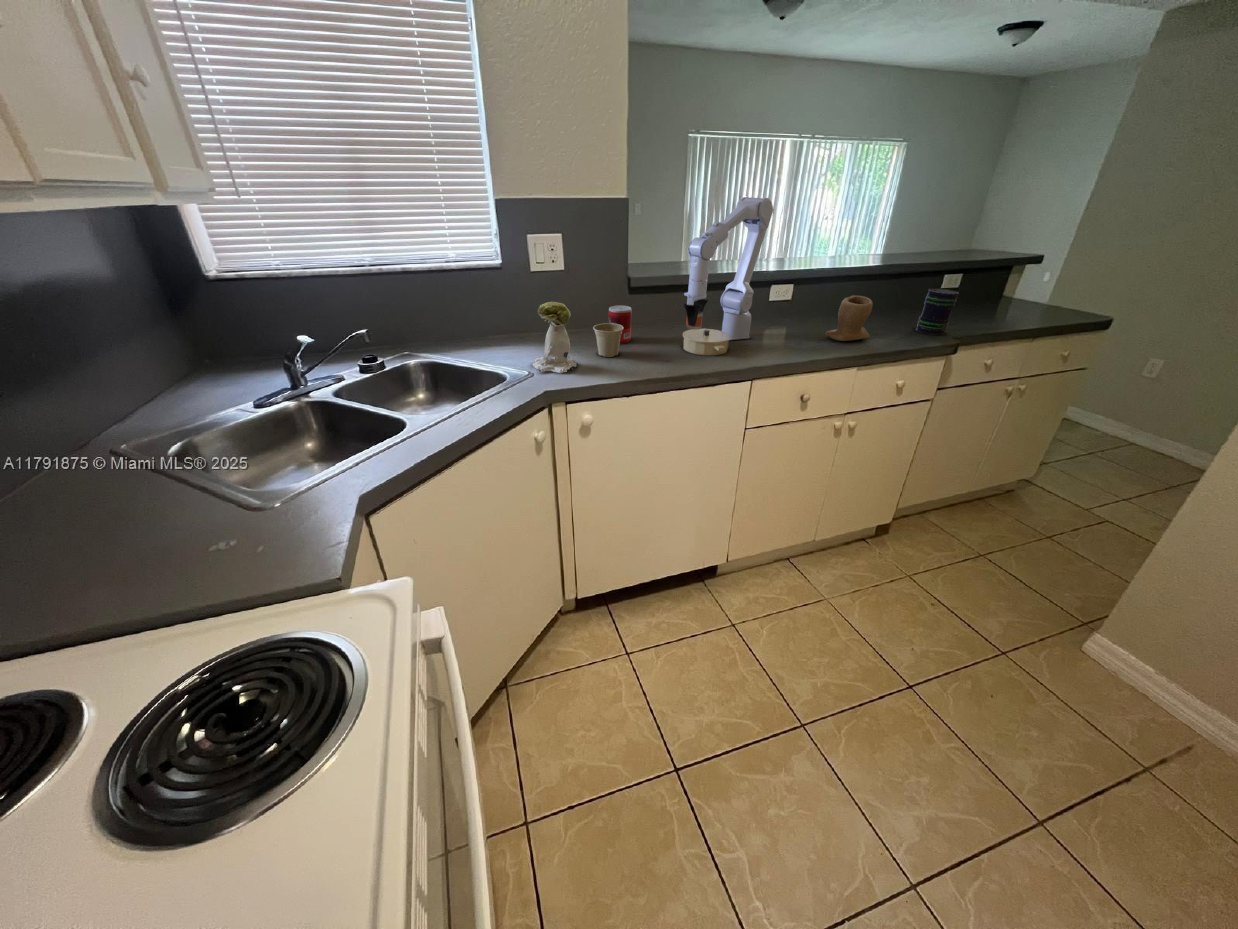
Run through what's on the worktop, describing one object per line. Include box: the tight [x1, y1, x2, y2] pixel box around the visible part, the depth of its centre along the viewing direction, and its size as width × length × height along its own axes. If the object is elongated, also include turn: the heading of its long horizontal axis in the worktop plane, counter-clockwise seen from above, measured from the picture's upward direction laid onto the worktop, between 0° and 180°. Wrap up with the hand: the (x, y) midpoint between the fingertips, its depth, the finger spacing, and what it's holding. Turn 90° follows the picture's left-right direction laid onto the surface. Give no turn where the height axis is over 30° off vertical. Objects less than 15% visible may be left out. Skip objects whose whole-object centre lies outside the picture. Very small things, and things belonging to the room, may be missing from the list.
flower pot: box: [592, 322, 623, 358], centre depth 152 cm, size 9×9×9 cm
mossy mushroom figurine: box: [532, 301, 578, 374], centre depth 139 cm, size 12×13×18 cm
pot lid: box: [682, 328, 731, 344], centre depth 159 cm, size 16×16×3 cm
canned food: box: [608, 304, 633, 345], centre depth 165 cm, size 8×8×11 cm
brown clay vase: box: [825, 295, 873, 342], centre depth 170 cm, size 15×12×15 cm
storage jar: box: [915, 287, 960, 336], centre depth 182 cm, size 10×10×15 cm
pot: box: [682, 336, 730, 356], centre depth 161 cm, size 15×20×4 cm
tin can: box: [685, 311, 704, 330], centre depth 159 cm, size 5×5×5 cm
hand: (694, 323), depth 159 cm, fingers closed on tin can, 5 cm apart
